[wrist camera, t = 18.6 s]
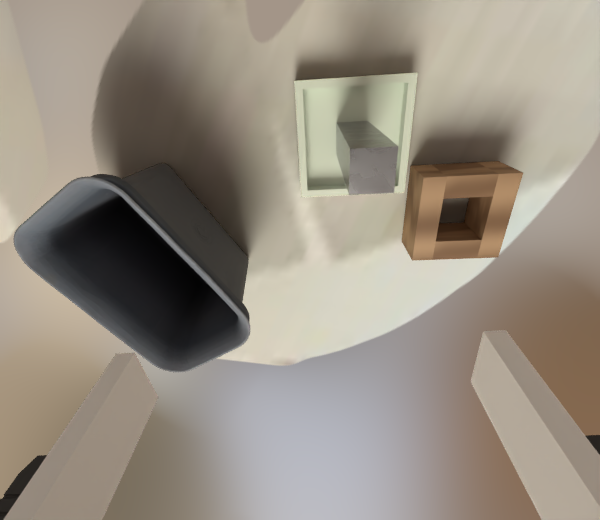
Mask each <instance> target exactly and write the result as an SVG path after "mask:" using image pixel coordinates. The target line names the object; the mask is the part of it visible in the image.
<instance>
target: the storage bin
mask: <svg viewBox="0 0 600 520" xmlns="http://www.w3.org/2000/svg"><path fill="white" fill-rule="evenodd" d="M14 245H15V248H16V251H17V253H18V254H19V256H20V257H21V259H22V260H23V261H24V263H25V264H26V265H27V266H28V267H29V268H30V269H32V270H33V271H34V272H35V273H36V274H37V275H39V276H40V277H41V278H42V279H44V280H45V281H46V282H47V283H49V284H50V285H51V286H52V287H54V288H55V289H56V290H58V291H59V292H60V293H62V294H63V295H64V296H65V297H67V298H68V299H69V300H70V301H72V302H73V303H74V304H75V305H77V306H78V307H79V308H81V309H82V310H83V311H85V312H86V313H87V314H88V315H90V316H91V317H92V318H93V319H94V320H96V321H97V322H98V323H100V324H101V325H102V326H103V327H105V328H106V329H107V330H109V331H110V332H111V333H112V334H114V335H115V336H116V337H117V338H119V339H120V340H122V341H123V342H124V343H125V344H127V345H128V346H129V347H131V348H132V349H133V350H134V351H136V352H137V353H138V354H139V355H141V356H142V357H143V358H145V359H146V360H147V361H149V362H150V363H151V364H153V365H154V366H156V367H158V368H160V369H163V370H165V371H170V372H186V371H190V370H193V369H195V368H196V367H199V366H201V365H203V364H205V363H207V362H209V361H211V360H213V359H215V358H217V357H220V356H222V355H224V354H226V353H228V352H230V351H232V350H234V349H236V348H238V347H240V346H241V345H243V344H244V343H245V342H246V341H247V339H248V337H249V335H250V324H249V313H248V311H247V308H246V307H245V306H244V304H243V303H242V301H243V294H244V288H245V281H246V275H247V268H248V257H247V256H246V255H245V253H244V252H243V251H242V250H241V249H240V248H239V247H238V245H237V244H236V243H235V242H234V241H233V240H232V239H231V237H230V236H229V235H228V234H227V233H226V232H225V230H224V229H223V228H222V227H221V226H220V224H219V223H218V222H217V221H216V220H215V219H214V217H213V216H212V215H211V214H210V213H209V212H208V211H207V209H206V208H205V207H204V206H203V205H202V204H201V202H200V201H199V200H198V199H197V198H196V197H195V196H194V194H193V193H192V192H191V191H190V190H189V189H188V187H187V186H186V185H185V184H184V183H183V182H182V180H181V179H180V178H179V177H178V176H177V174H176V173H175V172H174V171H173V170H172V169H171V167H169V166H168V165H167V164H164V163H160V164H158V165H155V166H153V167H150V168H148V169H145V170H143V171H140V172H138V173H135V174H133V175H130V176H128V177H125V178H123V179H121V178H118V177H116V176H113V175H107V174H97V175H93V176H91V177H81V178H77V179H75V180H73V181H71V182H70V183H68V184H67V185H66V186H65V187H63V189H61V190H60V191H59V192H58V193H57V194H56V195H54V197H52V198H51V199H50V200H49V201H47V202H46V203H45V204H44V205H43V206H42V207H41V208H40V209H38V210H37V211H36V212H35V213H34V214H33V215H32V216H31V217H30V218H29V219H27V220H26V221H25V222H24V223H23V224H22V225H20V226H19V228H18V229H17V230H16V232H15V234H14Z"/></svg>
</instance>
